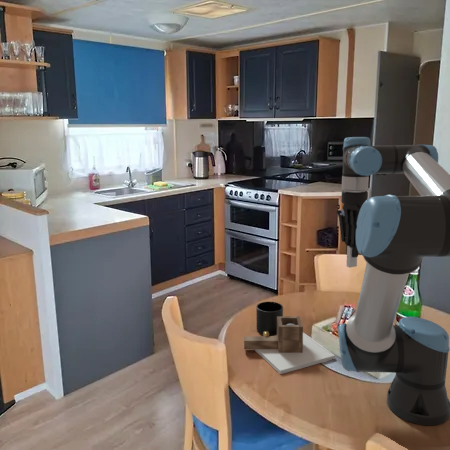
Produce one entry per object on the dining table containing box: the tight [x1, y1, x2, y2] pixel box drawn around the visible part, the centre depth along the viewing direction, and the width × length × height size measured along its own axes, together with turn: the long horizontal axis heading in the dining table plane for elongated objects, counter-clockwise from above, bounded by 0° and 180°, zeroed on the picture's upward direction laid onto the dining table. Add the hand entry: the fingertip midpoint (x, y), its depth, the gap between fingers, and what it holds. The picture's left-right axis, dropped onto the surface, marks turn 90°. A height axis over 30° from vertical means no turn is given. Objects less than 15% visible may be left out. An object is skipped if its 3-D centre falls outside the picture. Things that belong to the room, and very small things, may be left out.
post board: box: [253, 323, 336, 375], centre depth 144 cm, size 20×20×9 cm
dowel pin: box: [262, 331, 270, 336], centre depth 148 cm, size 2×2×4 cm
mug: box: [255, 301, 284, 336], centre depth 161 cm, size 9×12×9 cm
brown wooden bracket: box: [243, 315, 304, 353], centre depth 145 cm, size 19×8×9 cm, turn 88°
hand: (351, 266), depth 137 cm, fingers closed
